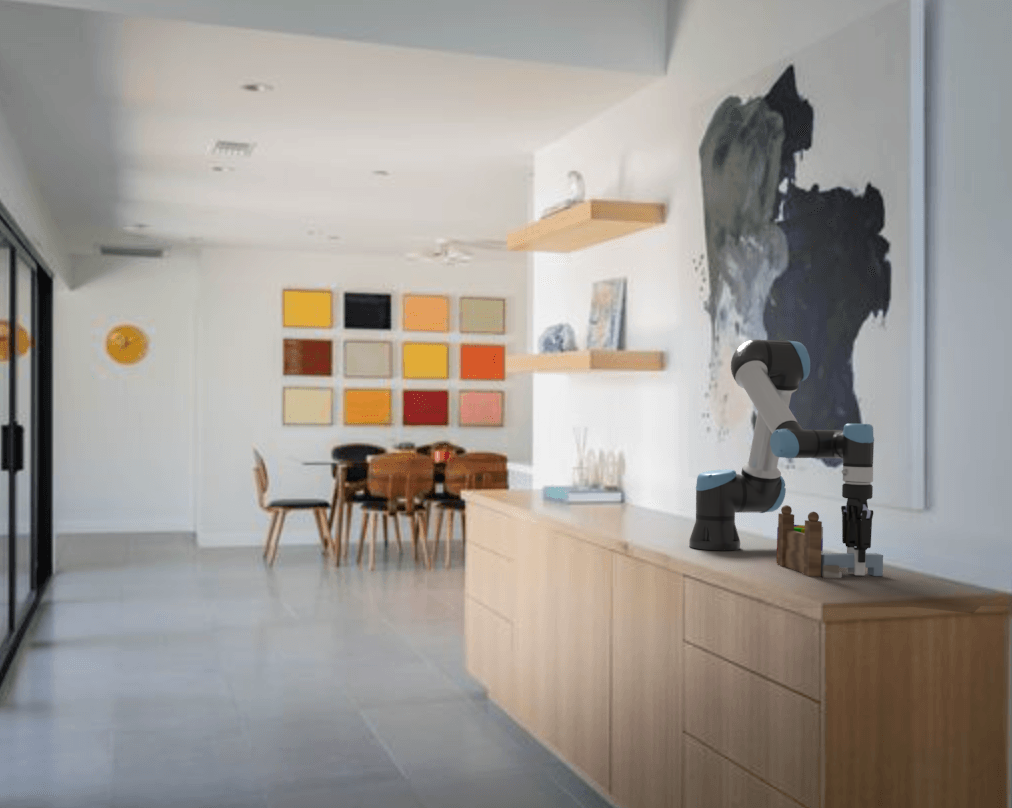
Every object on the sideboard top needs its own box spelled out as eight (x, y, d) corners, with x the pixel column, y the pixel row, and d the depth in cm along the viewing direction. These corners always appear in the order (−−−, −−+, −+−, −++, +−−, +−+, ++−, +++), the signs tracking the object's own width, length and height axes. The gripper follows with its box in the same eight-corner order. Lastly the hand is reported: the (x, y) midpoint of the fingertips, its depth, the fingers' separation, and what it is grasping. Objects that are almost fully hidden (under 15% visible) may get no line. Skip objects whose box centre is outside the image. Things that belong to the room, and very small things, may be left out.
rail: (818, 574, 302) (818, 553, 302) (876, 573, 304) (876, 553, 304) (824, 576, 298) (824, 555, 298) (882, 575, 301) (883, 554, 301)
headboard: (777, 564, 318) (778, 504, 318) (804, 564, 319) (805, 504, 319) (812, 577, 296) (813, 513, 296) (841, 577, 297) (843, 513, 297)
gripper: (829, 480, 309) (827, 569, 309) (858, 485, 293) (857, 578, 293) (856, 480, 310) (854, 568, 310) (886, 485, 294) (884, 578, 294)
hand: (855, 573), depth 302 cm, fingers closed on rail, 4 cm apart
